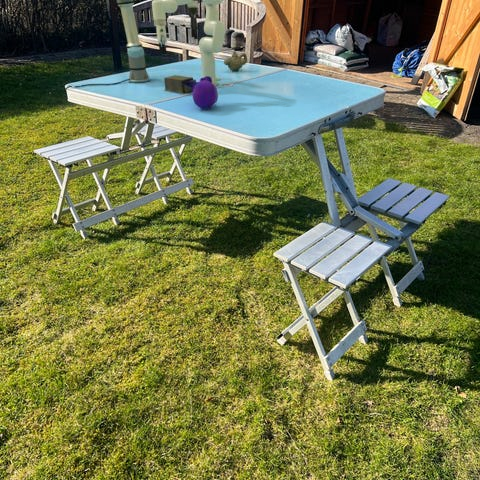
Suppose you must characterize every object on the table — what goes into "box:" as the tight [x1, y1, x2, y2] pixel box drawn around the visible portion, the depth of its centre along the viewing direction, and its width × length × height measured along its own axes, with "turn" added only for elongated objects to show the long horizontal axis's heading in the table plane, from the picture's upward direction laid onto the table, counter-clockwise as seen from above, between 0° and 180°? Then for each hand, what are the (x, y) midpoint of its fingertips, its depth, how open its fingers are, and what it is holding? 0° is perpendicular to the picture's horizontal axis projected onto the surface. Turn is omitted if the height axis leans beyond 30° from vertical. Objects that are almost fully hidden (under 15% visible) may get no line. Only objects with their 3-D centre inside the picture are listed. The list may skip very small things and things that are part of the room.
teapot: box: [223, 50, 248, 72], centre depth 366 cm, size 21×12×15 cm, turn 120°
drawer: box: [183, 79, 197, 93], centre depth 303 cm, size 21×10×6 cm, turn 53°
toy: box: [181, 76, 219, 110], centre depth 265 cm, size 16×18×27 cm
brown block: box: [163, 74, 194, 94], centre depth 307 cm, size 17×11×8 cm, turn 53°
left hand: (194, 38), depth 345 cm, fingers open, 13 cm apart
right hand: (163, 52), depth 286 cm, fingers open, 9 cm apart
